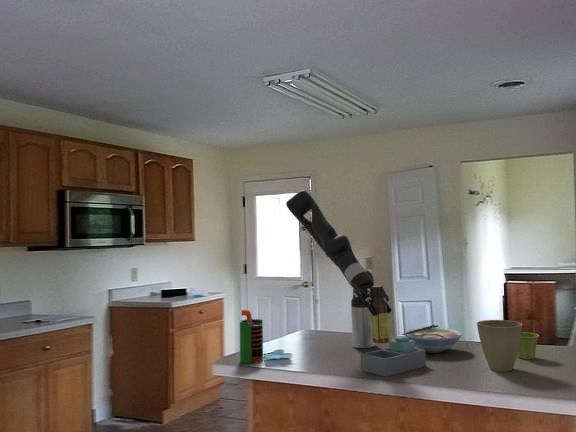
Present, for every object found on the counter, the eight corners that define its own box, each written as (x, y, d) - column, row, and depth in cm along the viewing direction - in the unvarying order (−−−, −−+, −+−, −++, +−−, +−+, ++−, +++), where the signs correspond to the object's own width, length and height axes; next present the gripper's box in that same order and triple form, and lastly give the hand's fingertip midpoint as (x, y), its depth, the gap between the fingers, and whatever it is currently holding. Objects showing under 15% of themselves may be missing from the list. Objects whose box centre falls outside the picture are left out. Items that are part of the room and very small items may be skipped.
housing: (400, 360, 209) (399, 345, 209) (425, 366, 199) (425, 349, 199) (361, 370, 196) (360, 354, 196) (386, 376, 186) (385, 359, 187)
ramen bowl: (440, 360, 207) (439, 338, 207) (391, 352, 224) (391, 332, 225) (475, 349, 224) (474, 329, 224) (427, 342, 241) (426, 324, 241)
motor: (259, 364, 211) (257, 311, 211) (237, 363, 213) (235, 311, 213) (265, 358, 221) (264, 308, 221) (244, 357, 222) (242, 308, 223)
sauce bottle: (391, 340, 197) (389, 285, 197) (388, 344, 191) (386, 287, 191) (372, 340, 199) (371, 284, 199) (369, 343, 193) (367, 286, 194)
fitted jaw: (400, 359, 205) (400, 335, 206) (415, 363, 200) (414, 337, 200) (390, 362, 202) (389, 337, 202) (404, 365, 196) (403, 339, 196)
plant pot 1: (469, 368, 194) (467, 322, 195) (498, 362, 202) (496, 318, 202) (504, 377, 181) (502, 328, 182) (533, 370, 189) (531, 323, 189)
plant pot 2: (540, 355, 209) (539, 332, 210) (540, 361, 201) (538, 337, 201) (513, 354, 213) (512, 331, 214) (512, 359, 205) (511, 336, 205)
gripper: (367, 283, 210) (391, 317, 200) (339, 286, 201) (363, 322, 191) (377, 269, 206) (402, 304, 196) (348, 272, 197) (373, 308, 187)
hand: (382, 313), depth 194 cm, fingers closed on sauce bottle, 6 cm apart
